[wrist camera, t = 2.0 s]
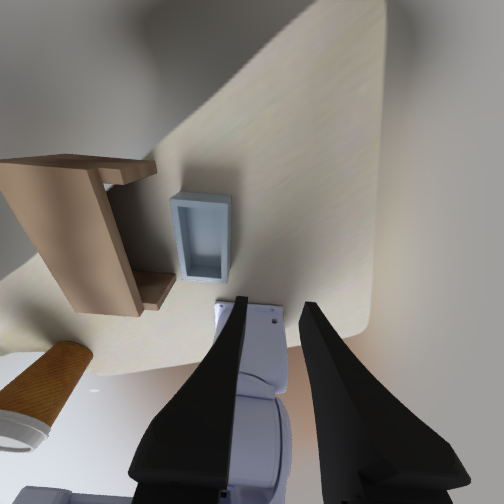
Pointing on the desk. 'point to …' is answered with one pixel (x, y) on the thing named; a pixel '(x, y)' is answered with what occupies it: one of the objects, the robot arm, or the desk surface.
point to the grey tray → (202, 235)
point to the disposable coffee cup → (39, 396)
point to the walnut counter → (82, 229)
